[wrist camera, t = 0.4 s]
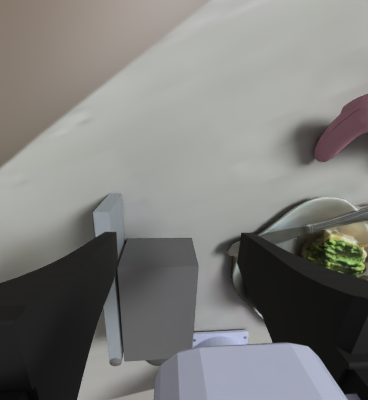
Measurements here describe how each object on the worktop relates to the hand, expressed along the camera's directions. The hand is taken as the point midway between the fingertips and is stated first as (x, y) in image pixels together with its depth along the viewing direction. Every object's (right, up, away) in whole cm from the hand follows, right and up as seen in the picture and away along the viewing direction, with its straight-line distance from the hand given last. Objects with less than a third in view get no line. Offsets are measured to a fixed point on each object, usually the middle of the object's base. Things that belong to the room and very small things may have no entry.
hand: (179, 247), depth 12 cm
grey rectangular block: (-3, -7, +13) cm, 15 cm away
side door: (-7, -5, +11) cm, 14 cm away
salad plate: (+14, -5, +14) cm, 21 cm away
